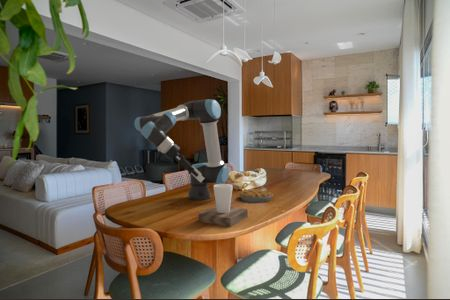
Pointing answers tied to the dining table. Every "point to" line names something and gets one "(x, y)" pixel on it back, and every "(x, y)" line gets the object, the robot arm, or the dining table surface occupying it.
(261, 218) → the dining table surface
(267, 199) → the pie
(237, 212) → the walnut riser
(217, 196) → the foam cup
